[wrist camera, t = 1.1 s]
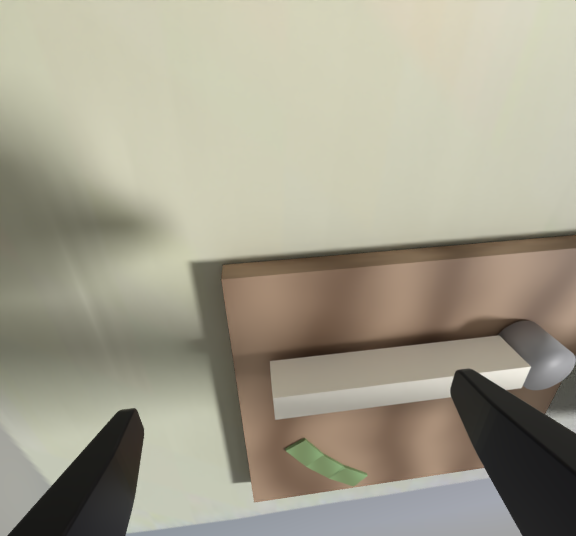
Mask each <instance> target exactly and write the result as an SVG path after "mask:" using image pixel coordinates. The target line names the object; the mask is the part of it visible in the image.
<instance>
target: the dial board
mask: <svg viewBox="0 0 576 536" xmlns="http://www.w3.org/2000/svg"><path fill="white" fill-rule="evenodd" d="M221 281H222V288H223V295H224V301H225V308H226V315H227V322H228V329H229V335H230V342H231V349H232V356H233V362H234V369H235V376H236V383H237V389H238V396H239V403H240V410H241V416H242V423H243V430H244V437H245V443H246V450H247V457H248V464H249V470H250V477H251V484H252V491H253V497H254V502H261V501H267V500H274V499H280V498H287V497H294V496H300V495H307V494H314V493H320V492H327V491H334V490H340V489H347V488H353V487H360V486H367V485H373V484H380V483H387V482H393V481H400V480H407V479H413V478H420V477H426V476H433V475H440V474H446V473H453V472H460V471H466V470H473V469H480V468H484V466H483V464H482V462H481V461H480V459H479V457H478V455H477V453H476V451H475V449H474V447H473V445H472V443H471V441H470V439H469V437H468V434H467V432H466V430H465V427H464V425H463V423H462V421H461V418H460V416H459V414H458V412H457V409H456V407H455V405H454V402H453V400H452V398H451V397H449V398H441V399H433V400H426V401H418V402H410V403H402V404H395V405H387V406H379V407H371V408H363V409H356V410H348V411H340V412H332V413H325V414H317V415H309V416H301V417H293V418H286V419H278V420H275V413H274V403H273V394H272V384H271V372H270V361H275V360H284V359H293V358H302V357H311V356H320V355H329V354H338V353H347V352H355V351H364V350H373V349H382V348H391V347H400V346H409V345H418V344H427V343H436V342H445V341H454V340H462V339H471V338H480V337H489V336H497V335H498V334H499V333H500V332H501V331H502V330H503V329H504V328H506V327H507V326H509V325H511V324H513V323H516V322H519V321H533V322H535V323H536V324H538V325H539V326H540V327H541V328H542V329H544V330H545V331H546V332H547V333H549V334H550V335H551V336H552V337H554V338H555V339H556V340H557V341H558V342H560V343H561V344H562V345H563V346H565V347H566V348H567V349H568V350H569V351H571V352H572V353H573V354H574V355H576V235H570V236H558V237H546V238H535V239H523V240H511V241H499V242H487V243H475V244H463V245H452V246H440V247H428V248H416V249H404V250H392V251H381V252H369V253H357V254H345V255H333V256H321V257H309V258H298V259H286V260H274V261H262V262H250V263H238V264H227V265H223V267H222V277H221ZM561 382H562V381H561ZM561 382H559V383H557V384H556V385H554V386H552V387H549V388H546V389H543V390H529V389H527V388H525V387H524V386H522V388H519V389H511V390H507V391H508V392H510V393H512V394H513V395H515V396H516V397H518V398H520V399H521V400H523V401H524V402H526V403H528V404H529V405H531V406H532V407H534V408H536V409H537V410H539V411H540V412H542V413H544V414H545V413H546V411H547V409H548V407H549V405H550V403H551V401H552V399H553V398H554V396H555V394H556V392H557V390H558V388H559V386H560V384H561Z"/></svg>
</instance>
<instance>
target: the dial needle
mask: <svg viewBox="0 0 576 536" xmlns="http://www.w3.org/2000/svg"><path fill="white" fill-rule="evenodd" d="M575 363H576V358H575V355H574V354H573V353H572V352H571V351H569V350H568V349H567V348H566V347H565V346H563V345H562V344H561V343H560V342H558V341H557V340H556V339H555V338H554V337H552V336H551V335H550V334H549V333H547V332H546V331H545V330H544V329H542V328H541V327H540V326H539V325H538V324H536V323H535V322H533V321H519V322H516V323H513V324H511V325H509V326H507V327H506V328H504V329H503V330H502V331H501V332H500V333H499V334H498V335H497V336H489V337H480V338H471V339H462V340H454V341H445V342H436V343H427V344H418V345H409V346H400V347H391V348H382V349H373V350H364V351H355V352H347V353H338V354H329V355H320V356H311V357H302V358H293V359H284V360H275V361H270V372H271V384H272V394H273V403H274V413H275V420H278V419H286V418H293V417H301V416H309V415H317V414H325V413H332V412H340V411H348V410H356V409H363V408H371V407H379V406H387V405H395V404H402V403H410V402H418V401H426V400H433V399H441V398H449V397H451V394H450V388H451V384H452V381H453V377H454V374H455V372H456V371H457V370H459V369H467V368H470V369H473V370H475V371H476V372H478V373H479V374H481V375H483V376H484V377H486V378H487V379H489V380H491V381H492V382H494V383H495V384H497V385H499V386H500V387H502V388H504V389H505V390H511V389H519V388H522V386H524V387H525V388H527V389H529V390H543V389H546V388H549V387H552V386H554V385H556V384H557V383H559V382H561V381H562V380H563V379H565V378H566V377H567V376H568V375H569V374H570V373H571V371H572V370H573V368H574V366H575Z"/></svg>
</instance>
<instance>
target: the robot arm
mask: <svg viewBox="0 0 576 536" xmlns="http://www.w3.org/2000/svg"><path fill="white" fill-rule="evenodd" d="M450 394H451V398H452V400H453V402H454V405H455V407H456V409H457V412H458V414H459V416H460V418H461V421H462V423H463V425H464V427H465V430H466V432H467V434H468V437H469V439H470V441H471V443H472V445H473V447H474V449H475V451H476V453H477V455H478V457H479V459H480V461H481V462H482V464H483V466H484V468H485V470H486V471H487V473H488V475H489V477H490V478H491V480H492V482H493V484H494V486H495V487H496V489H497V491H498V493H499V495H500V496H501V498H502V500H503V502H504V503H505V505H506V507H507V509H508V511H509V512H510V514H511V516H512V518H513V520H514V521H515V523H516V525H517V527H518V528H519V530H520V532H521V534H522V536H576V433H574V432H573V431H571V430H569V429H568V428H566V427H564V426H563V425H561V424H560V423H558V422H556V421H555V420H553V419H552V418H550V417H548V416H547V415H545V414H544V413H542V412H540V411H539V410H537V409H536V408H534V407H532V406H531V405H529V404H528V403H526V402H524V401H523V400H521V399H520V398H518V397H516V396H515V395H513V394H512V393H510V392H508V391H507V390H505V389H504V388H502V387H500V386H499V385H497V384H495V383H494V382H492V381H491V380H489V379H487V378H486V377H484V376H483V375H481V374H479V373H478V372H476V371H475V370H473V369H470V368H467V369H459V370H457V371H456V372H455V374H454V377H453V381H452V384H451V388H450ZM143 439H144V428H143V425H142V422H141V419H140V417H139V414H138V412H137V410H136V409H135V408H131V409H123V410H120V411H118V412H117V413H116V414H115V415H114V416H113V417H112V419H111V420H110V421H109V422H108V423H107V424H106V425H105V426H104V428H103V429H102V430H101V431H100V432H99V433H98V434H97V435H96V437H95V438H94V439H93V440H92V441H91V442H90V443H89V444H88V446H87V447H86V448H85V449H84V450H83V451H82V452H81V453H80V455H79V456H78V457H77V458H76V459H75V460H74V461H73V462H72V464H71V465H70V466H69V467H68V468H67V469H66V470H65V471H64V473H63V474H62V475H61V476H60V477H59V478H58V479H57V480H56V482H55V483H54V484H53V485H52V486H51V487H50V488H49V489H48V491H47V492H46V493H45V494H44V495H43V496H42V497H41V498H40V500H39V501H38V502H37V503H36V504H35V505H34V506H33V507H32V509H31V510H30V511H29V512H28V513H27V514H26V515H25V516H24V518H23V519H22V520H21V521H20V522H19V523H18V524H17V526H16V527H15V528H14V529H13V530H12V531H11V532H10V533H9V534H8V536H125V535H126V531H127V527H128V523H129V519H130V515H131V511H132V507H133V503H134V499H135V493H136V487H137V480H138V473H139V466H140V460H141V453H142V446H143Z"/></svg>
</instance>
